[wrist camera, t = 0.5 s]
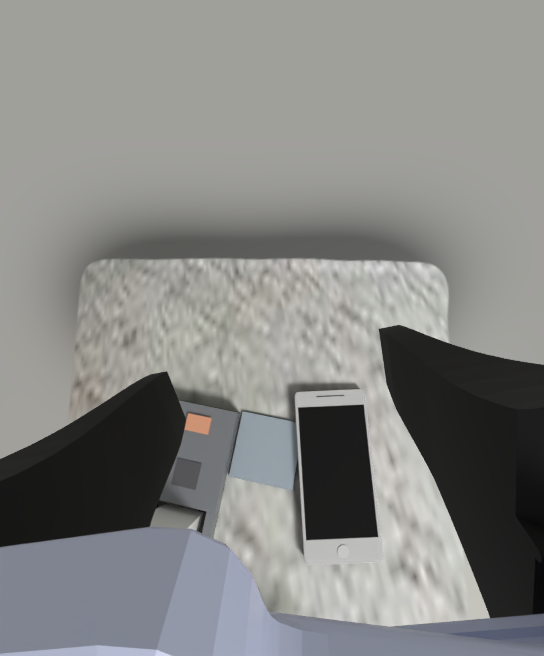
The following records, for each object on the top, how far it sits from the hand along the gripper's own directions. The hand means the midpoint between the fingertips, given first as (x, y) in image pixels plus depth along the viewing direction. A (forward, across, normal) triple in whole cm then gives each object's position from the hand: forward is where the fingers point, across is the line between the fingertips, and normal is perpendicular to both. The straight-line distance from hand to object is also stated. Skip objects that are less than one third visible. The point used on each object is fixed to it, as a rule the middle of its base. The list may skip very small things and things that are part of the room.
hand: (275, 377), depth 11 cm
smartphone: (+16, 0, +21) cm, 26 cm away
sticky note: (+18, +6, +18) cm, 26 cm away
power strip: (+15, +15, +20) cm, 29 cm away
